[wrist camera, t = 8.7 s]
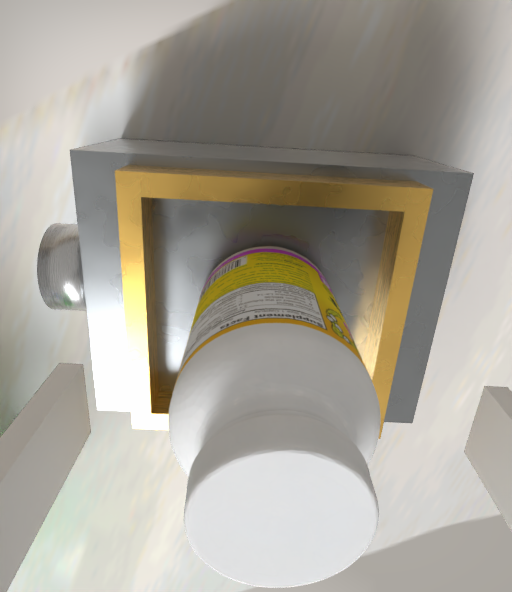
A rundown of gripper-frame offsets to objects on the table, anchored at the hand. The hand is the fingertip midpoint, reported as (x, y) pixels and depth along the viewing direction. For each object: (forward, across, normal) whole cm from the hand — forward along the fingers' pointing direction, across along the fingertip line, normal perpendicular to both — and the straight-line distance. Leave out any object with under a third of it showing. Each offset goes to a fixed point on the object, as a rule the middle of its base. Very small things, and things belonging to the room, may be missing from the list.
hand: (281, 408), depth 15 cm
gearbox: (+16, +2, 0) cm, 16 cm away
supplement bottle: (+8, 0, 0) cm, 9 cm away
